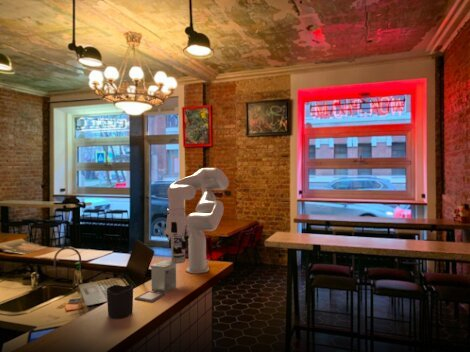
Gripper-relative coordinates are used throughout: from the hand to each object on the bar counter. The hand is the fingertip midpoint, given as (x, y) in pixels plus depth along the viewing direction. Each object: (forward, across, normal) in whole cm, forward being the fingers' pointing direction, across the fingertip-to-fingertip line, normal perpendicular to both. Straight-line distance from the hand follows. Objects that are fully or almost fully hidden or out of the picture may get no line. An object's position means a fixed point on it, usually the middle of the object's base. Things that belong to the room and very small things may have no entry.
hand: (178, 247), depth 162 cm
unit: (+16, 0, -12) cm, 20 cm away
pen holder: (+15, +1, -40) cm, 43 cm away
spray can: (+7, 0, 0) cm, 7 cm away
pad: (+16, 0, -22) cm, 27 cm away
